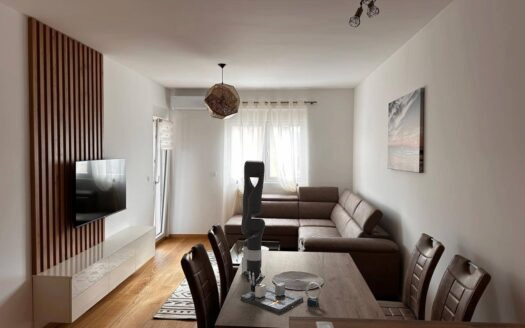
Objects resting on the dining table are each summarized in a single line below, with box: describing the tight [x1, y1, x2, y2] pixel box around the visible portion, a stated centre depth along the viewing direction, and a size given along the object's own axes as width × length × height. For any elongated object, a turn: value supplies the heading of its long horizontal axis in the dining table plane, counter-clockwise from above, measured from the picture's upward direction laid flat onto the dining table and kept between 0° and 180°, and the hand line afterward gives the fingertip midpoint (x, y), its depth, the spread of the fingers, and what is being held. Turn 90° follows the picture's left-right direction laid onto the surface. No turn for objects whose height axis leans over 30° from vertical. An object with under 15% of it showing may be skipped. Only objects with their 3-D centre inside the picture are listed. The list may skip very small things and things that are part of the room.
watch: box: [304, 280, 322, 308], centre depth 181 cm, size 6×8×11 cm
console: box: [240, 284, 304, 315], centre depth 185 cm, size 24×20×2 cm
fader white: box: [255, 283, 267, 298], centre depth 185 cm, size 3×4×5 cm
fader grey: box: [274, 282, 286, 296], centre depth 187 cm, size 3×4×5 cm
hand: (253, 291), depth 188 cm, fingers closed
